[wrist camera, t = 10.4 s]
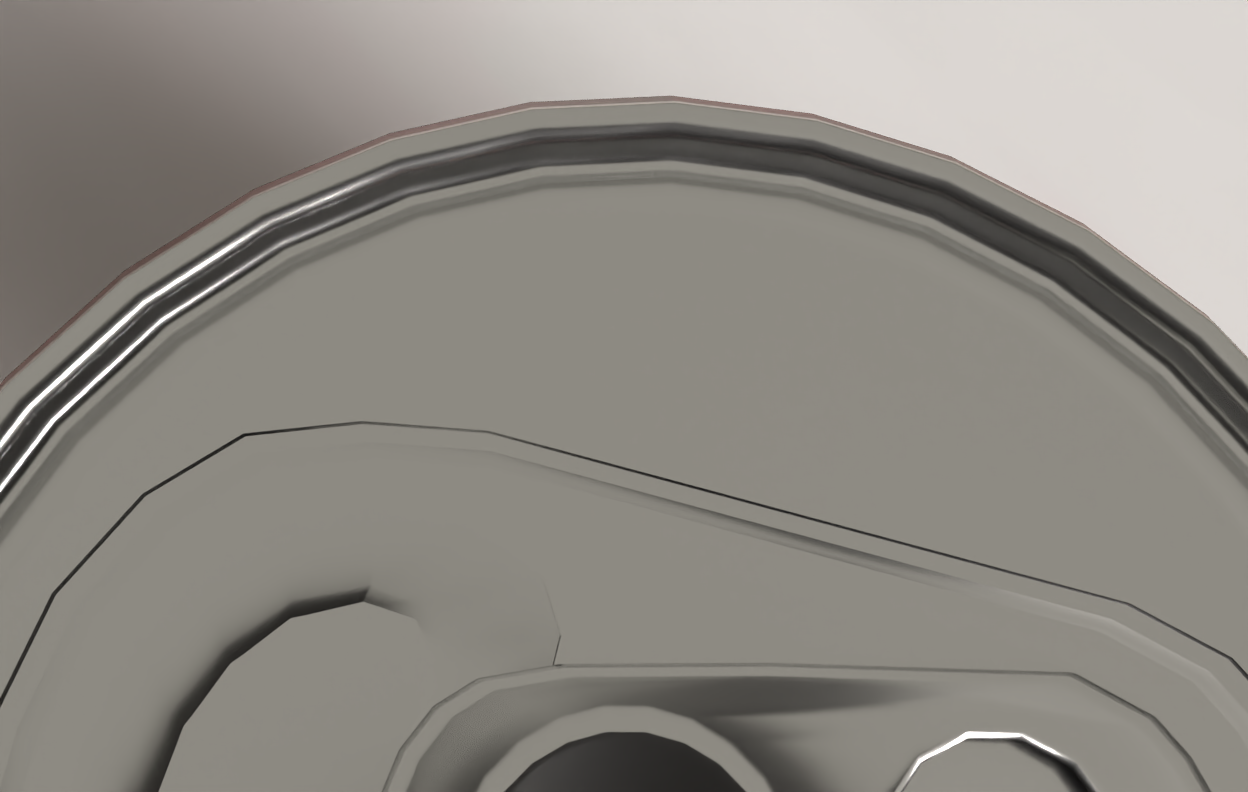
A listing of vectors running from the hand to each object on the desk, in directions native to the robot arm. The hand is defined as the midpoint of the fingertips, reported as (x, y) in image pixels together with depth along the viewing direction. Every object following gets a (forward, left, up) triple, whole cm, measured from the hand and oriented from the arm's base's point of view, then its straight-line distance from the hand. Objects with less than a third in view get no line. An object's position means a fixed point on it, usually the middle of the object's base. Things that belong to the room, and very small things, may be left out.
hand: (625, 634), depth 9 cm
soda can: (-1, 0, -7) cm, 7 cm away
